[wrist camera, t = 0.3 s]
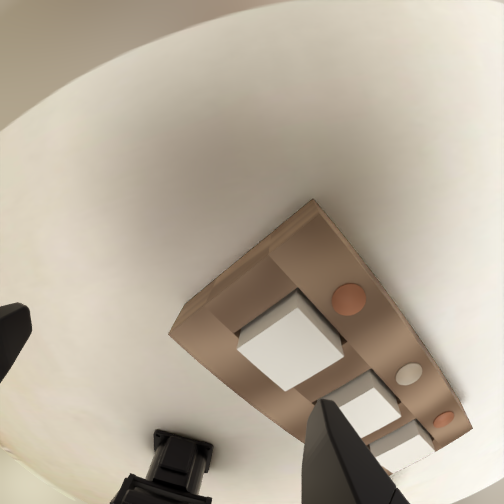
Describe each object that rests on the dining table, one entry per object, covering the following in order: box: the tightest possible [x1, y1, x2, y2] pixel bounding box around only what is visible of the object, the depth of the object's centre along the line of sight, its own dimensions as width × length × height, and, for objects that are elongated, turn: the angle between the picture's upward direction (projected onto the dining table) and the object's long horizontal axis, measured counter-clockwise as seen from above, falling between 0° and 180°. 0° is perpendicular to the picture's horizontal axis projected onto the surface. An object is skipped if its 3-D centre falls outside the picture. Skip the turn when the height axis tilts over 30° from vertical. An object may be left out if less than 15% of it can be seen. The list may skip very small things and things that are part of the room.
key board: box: [168, 199, 473, 476], centre depth 23 cm, size 26×12×4 cm, turn 43°
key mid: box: [317, 368, 402, 438], centre depth 21 cm, size 4×4×3 cm
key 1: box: [370, 418, 435, 473], centre depth 22 cm, size 4×4×3 cm
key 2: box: [237, 287, 344, 391], centre depth 19 cm, size 4×4×3 cm
